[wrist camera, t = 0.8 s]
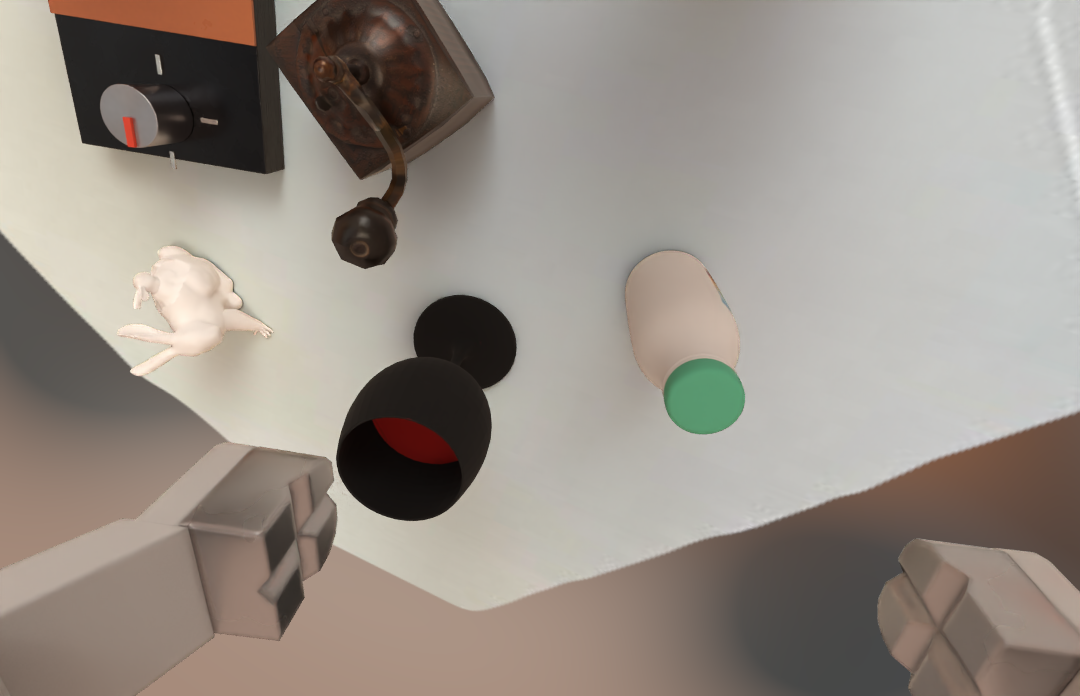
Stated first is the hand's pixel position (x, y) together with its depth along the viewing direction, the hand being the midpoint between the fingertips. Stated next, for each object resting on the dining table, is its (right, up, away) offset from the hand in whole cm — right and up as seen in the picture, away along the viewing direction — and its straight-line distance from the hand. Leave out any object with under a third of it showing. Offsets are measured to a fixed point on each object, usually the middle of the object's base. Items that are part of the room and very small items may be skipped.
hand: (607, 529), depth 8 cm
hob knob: (-31, +22, +37) cm, 53 cm away
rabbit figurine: (-34, +8, +47) cm, 59 cm away
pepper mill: (-10, +23, +37) cm, 45 cm away
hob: (-30, +28, +37) cm, 55 cm away
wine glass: (-8, +3, +47) cm, 47 cm away
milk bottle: (+11, +8, +42) cm, 44 cm away
